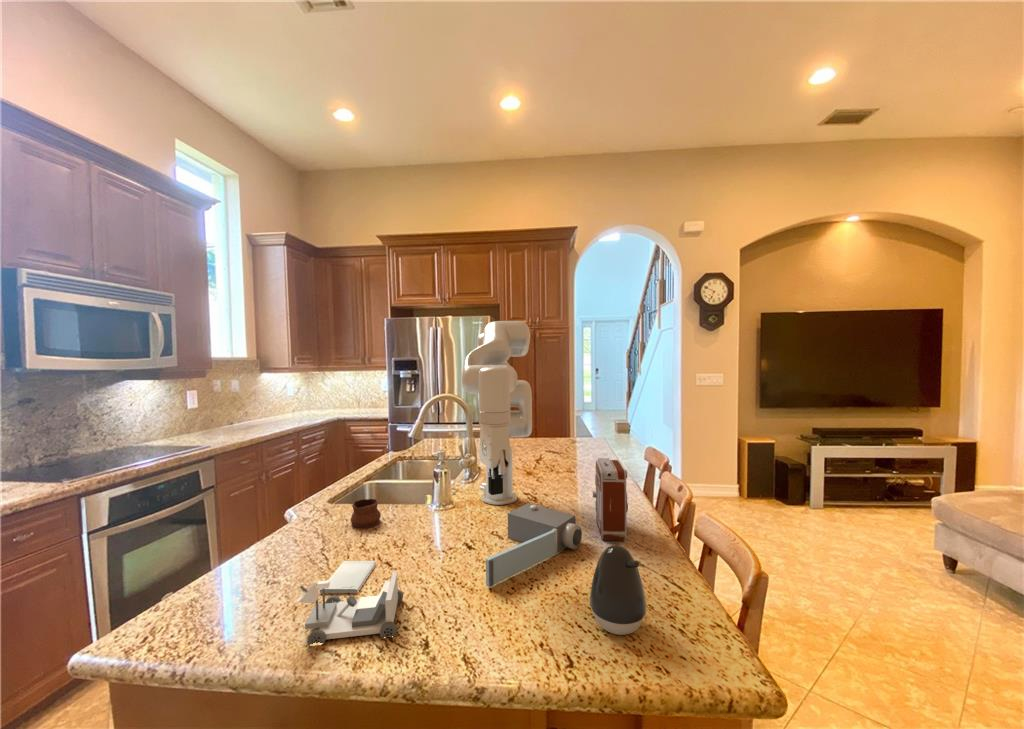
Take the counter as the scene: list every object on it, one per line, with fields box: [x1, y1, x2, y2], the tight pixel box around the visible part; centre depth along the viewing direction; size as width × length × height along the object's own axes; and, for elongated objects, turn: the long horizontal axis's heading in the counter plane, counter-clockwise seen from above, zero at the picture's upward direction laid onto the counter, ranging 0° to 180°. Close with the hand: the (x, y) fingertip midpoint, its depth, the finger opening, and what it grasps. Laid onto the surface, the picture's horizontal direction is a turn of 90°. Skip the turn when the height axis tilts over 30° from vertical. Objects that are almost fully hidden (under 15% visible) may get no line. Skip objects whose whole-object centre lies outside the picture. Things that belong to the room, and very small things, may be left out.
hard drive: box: [319, 560, 377, 594], centre depth 95 cm, size 2×8×12 cm
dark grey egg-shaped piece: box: [589, 543, 647, 636], centre depth 78 cm, size 10×10×15 cm
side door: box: [485, 529, 558, 588], centre depth 98 cm, size 23×2×6 cm, turn 132°
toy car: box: [297, 571, 404, 646], centre depth 79 cm, size 18×10×12 cm
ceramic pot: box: [334, 498, 382, 533], centre depth 127 cm, size 18×18×7 cm
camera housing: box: [507, 502, 583, 555], centre depth 114 cm, size 20×10×8 cm, turn 52°
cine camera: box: [592, 457, 629, 542], centre depth 121 cm, size 9×19×20 cm, turn 174°
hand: (495, 493), depth 100 cm, fingers closed
